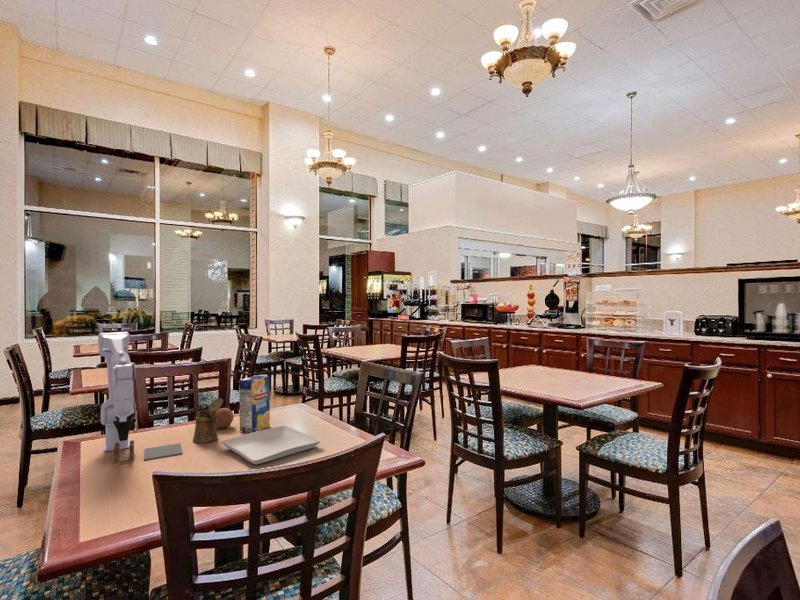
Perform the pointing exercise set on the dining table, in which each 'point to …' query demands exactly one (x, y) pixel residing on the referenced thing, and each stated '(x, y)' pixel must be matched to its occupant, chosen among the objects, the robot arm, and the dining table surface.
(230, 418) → the onion
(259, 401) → the blue yellow food box
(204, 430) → the wooden mug
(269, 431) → the square plate
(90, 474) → the dining table surface
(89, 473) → the dining table surface
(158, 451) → the mat
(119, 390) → the robot arm
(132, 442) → the stool
